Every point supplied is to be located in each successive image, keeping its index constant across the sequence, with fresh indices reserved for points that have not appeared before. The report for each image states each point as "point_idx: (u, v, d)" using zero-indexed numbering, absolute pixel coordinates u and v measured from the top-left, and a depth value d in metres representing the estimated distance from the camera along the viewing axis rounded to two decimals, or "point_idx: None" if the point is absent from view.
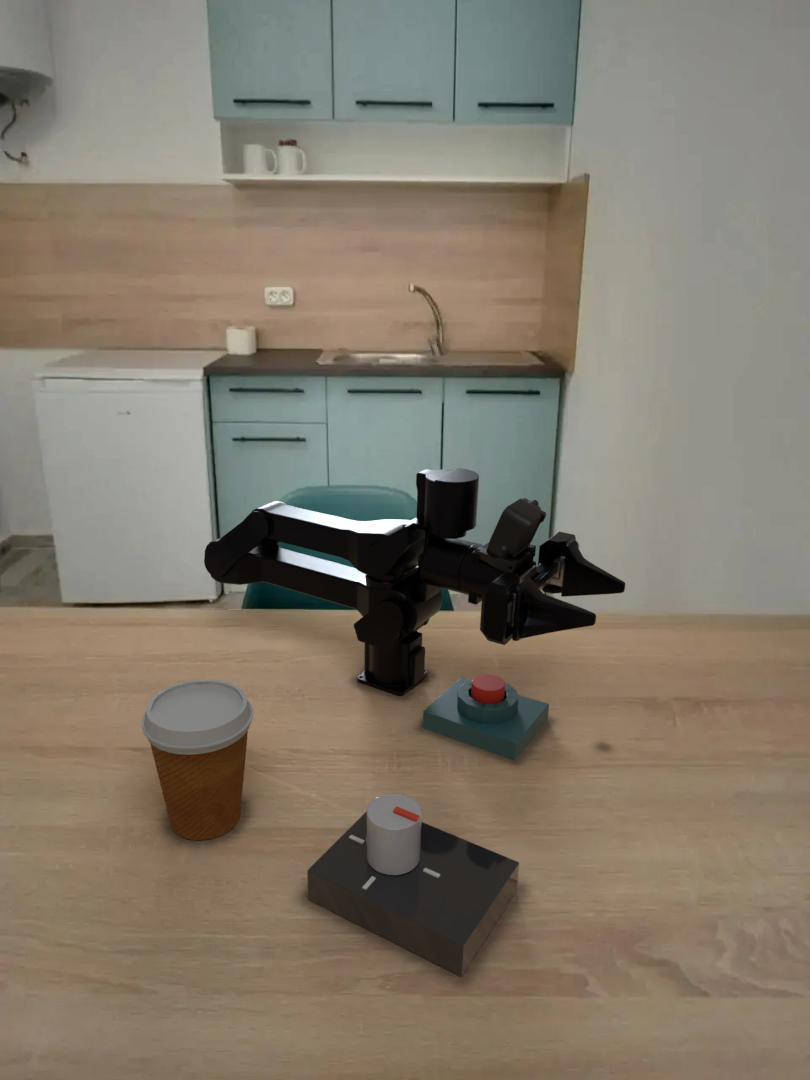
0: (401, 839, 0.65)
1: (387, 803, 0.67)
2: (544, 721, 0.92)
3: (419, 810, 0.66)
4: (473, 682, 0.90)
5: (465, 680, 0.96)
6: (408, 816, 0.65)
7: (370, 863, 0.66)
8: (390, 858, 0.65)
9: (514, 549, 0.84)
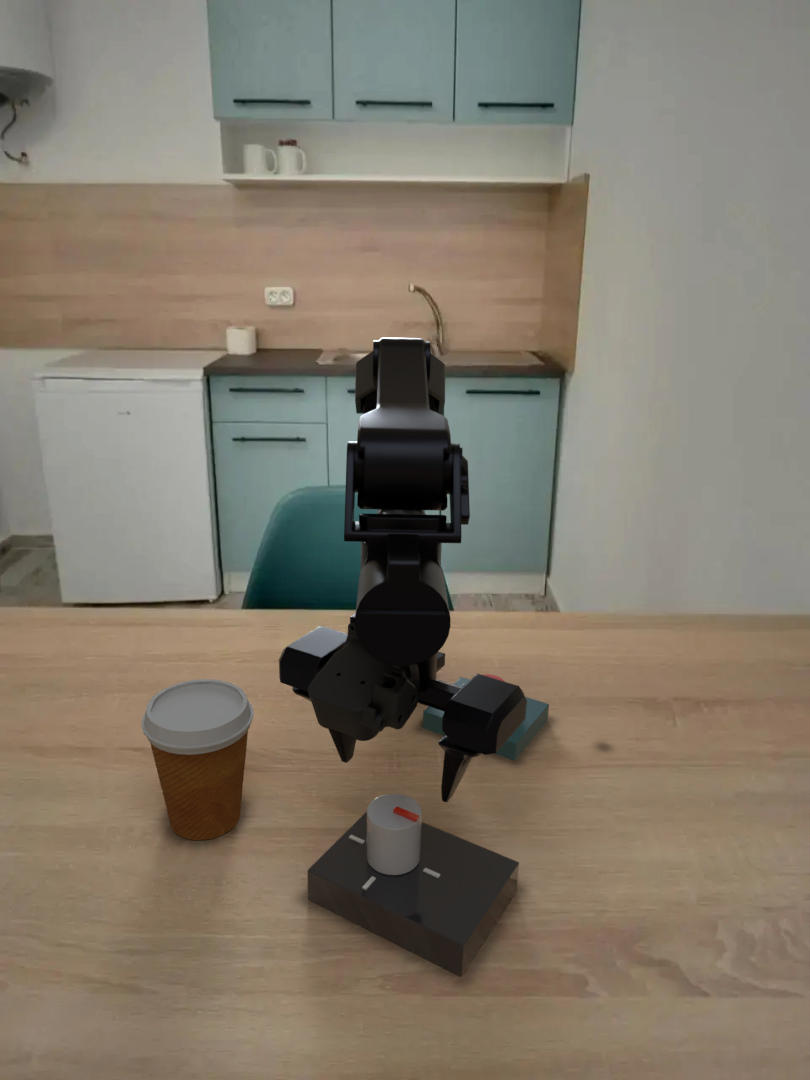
0: (401, 839, 0.65)
1: (387, 803, 0.67)
2: (544, 721, 0.92)
3: (419, 810, 0.66)
4: None
5: (465, 680, 0.96)
6: (408, 816, 0.65)
7: (370, 863, 0.66)
8: (390, 858, 0.65)
9: None
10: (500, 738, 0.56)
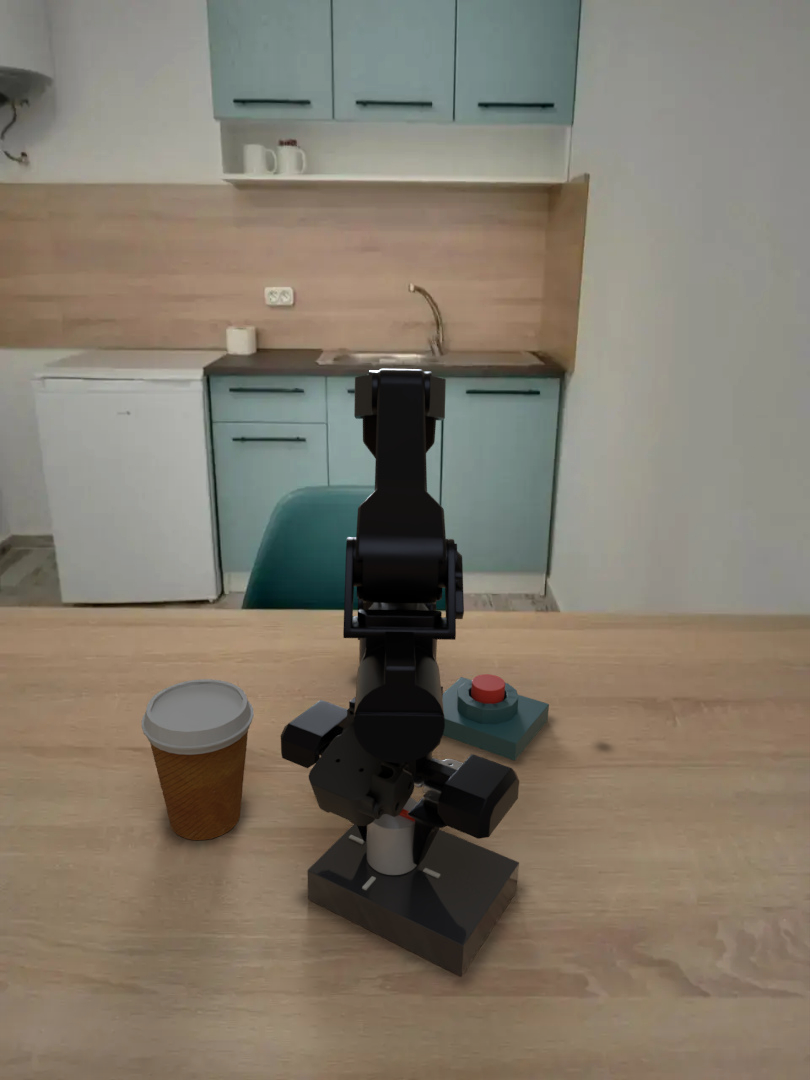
0: (401, 839, 0.65)
1: None
2: (544, 721, 0.92)
3: None
4: (473, 682, 0.90)
5: (465, 680, 0.96)
6: (408, 816, 0.65)
7: (370, 863, 0.66)
8: (390, 858, 0.65)
9: None
10: (493, 822, 0.59)
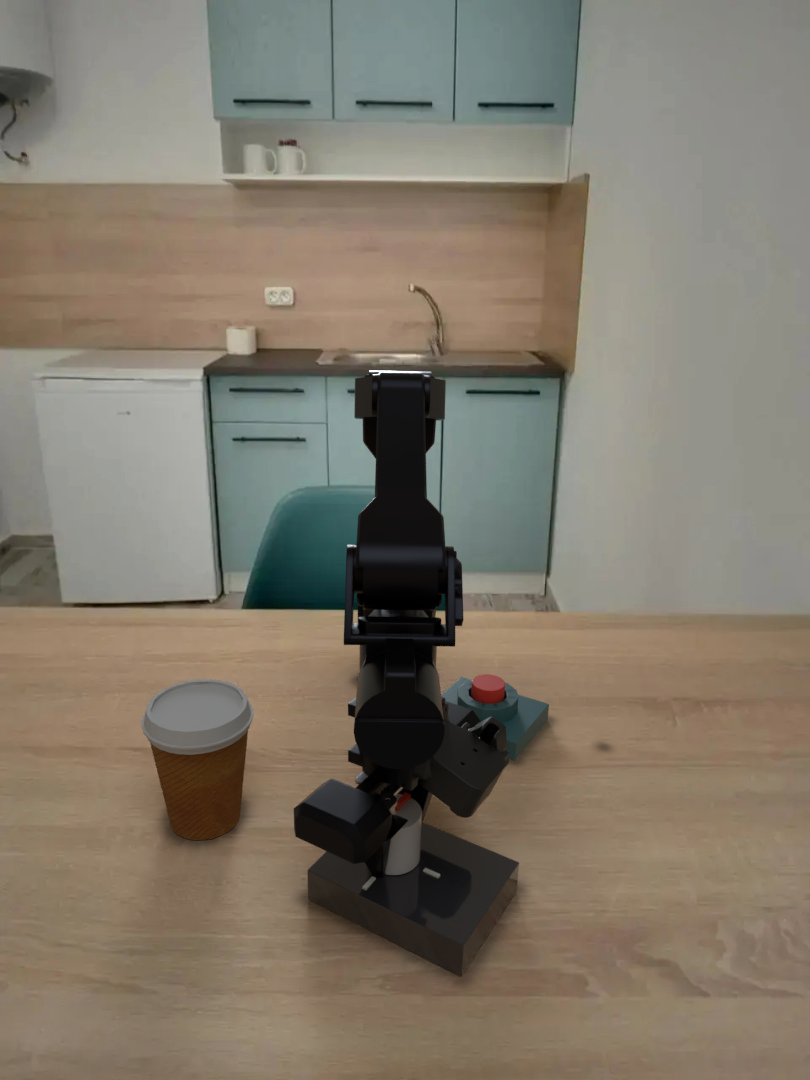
0: None
1: None
2: (544, 721, 0.92)
3: None
4: (473, 682, 0.90)
5: (465, 680, 0.96)
6: (407, 799, 0.67)
7: (408, 869, 0.66)
8: (420, 841, 0.67)
9: (428, 790, 0.60)
10: None
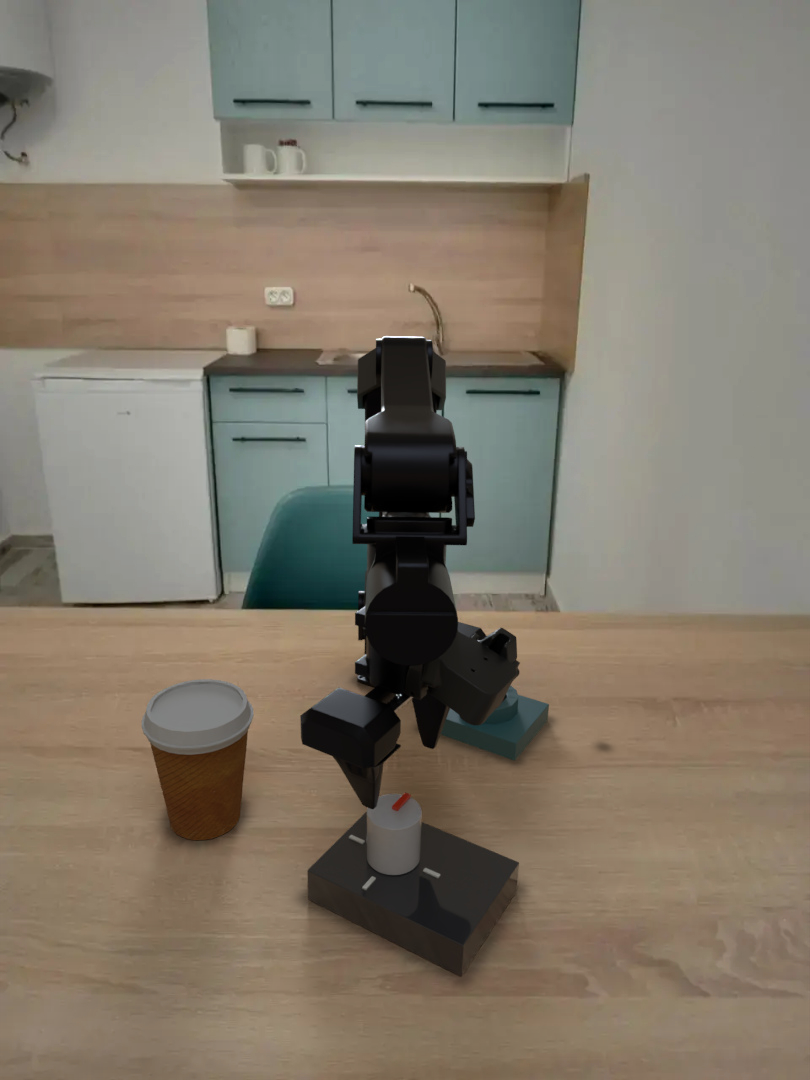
0: None
1: (383, 815, 0.66)
2: (544, 721, 0.92)
3: (393, 794, 0.68)
4: None
5: None
6: (407, 799, 0.67)
7: (408, 869, 0.66)
8: (420, 841, 0.67)
9: (438, 698, 0.59)
10: None
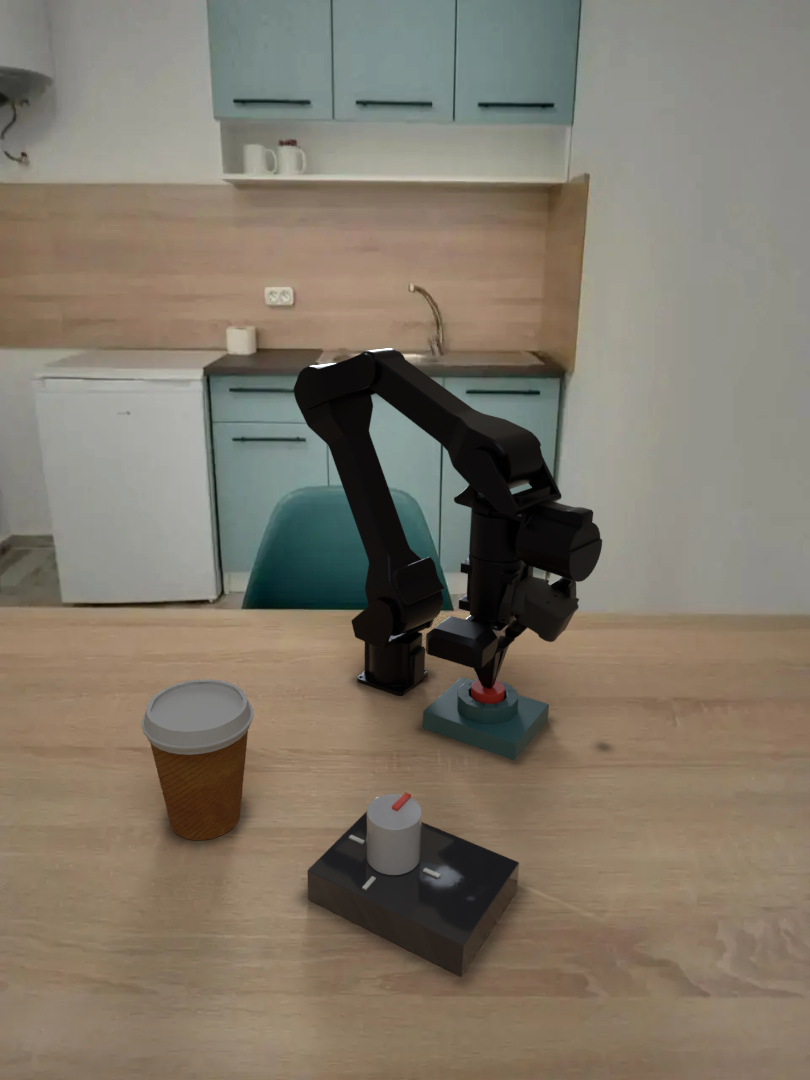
0: None
1: (383, 815, 0.66)
2: (544, 721, 0.92)
3: (393, 794, 0.68)
4: (473, 686, 0.90)
5: (465, 680, 0.96)
6: (407, 799, 0.67)
7: (408, 869, 0.66)
8: (420, 841, 0.67)
9: (522, 623, 0.83)
10: None
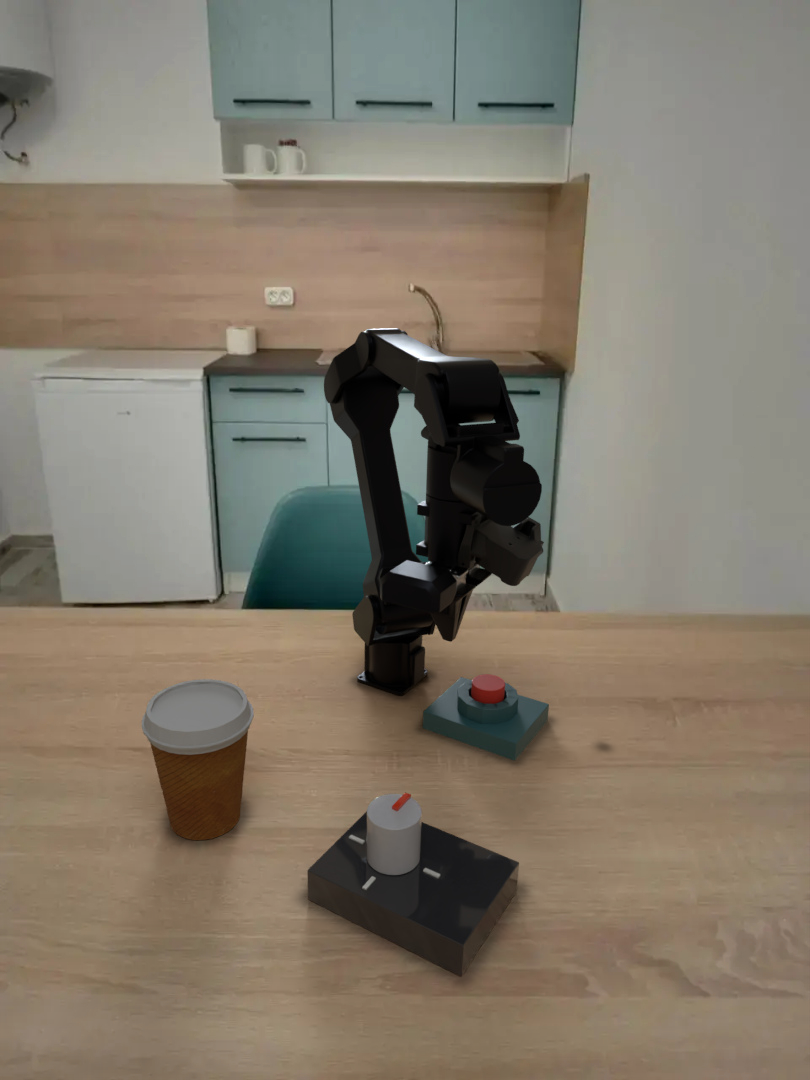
0: None
1: (383, 815, 0.66)
2: (544, 721, 0.92)
3: (393, 794, 0.68)
4: (473, 682, 0.90)
5: (465, 680, 0.96)
6: (407, 799, 0.67)
7: (408, 869, 0.66)
8: (420, 841, 0.67)
9: (483, 567, 0.77)
10: None
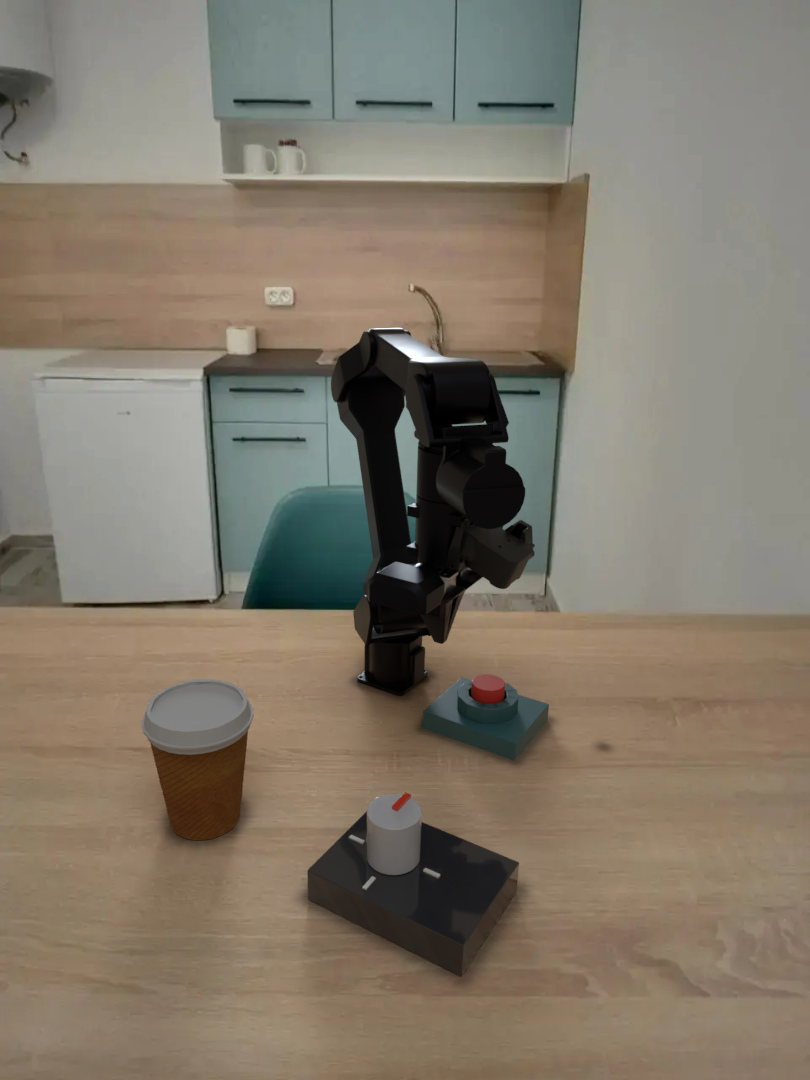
0: None
1: (383, 815, 0.66)
2: (544, 721, 0.92)
3: (393, 794, 0.68)
4: (473, 682, 0.90)
5: (465, 680, 0.96)
6: (407, 799, 0.67)
7: (408, 869, 0.66)
8: (420, 841, 0.67)
9: (472, 569, 0.77)
10: None
